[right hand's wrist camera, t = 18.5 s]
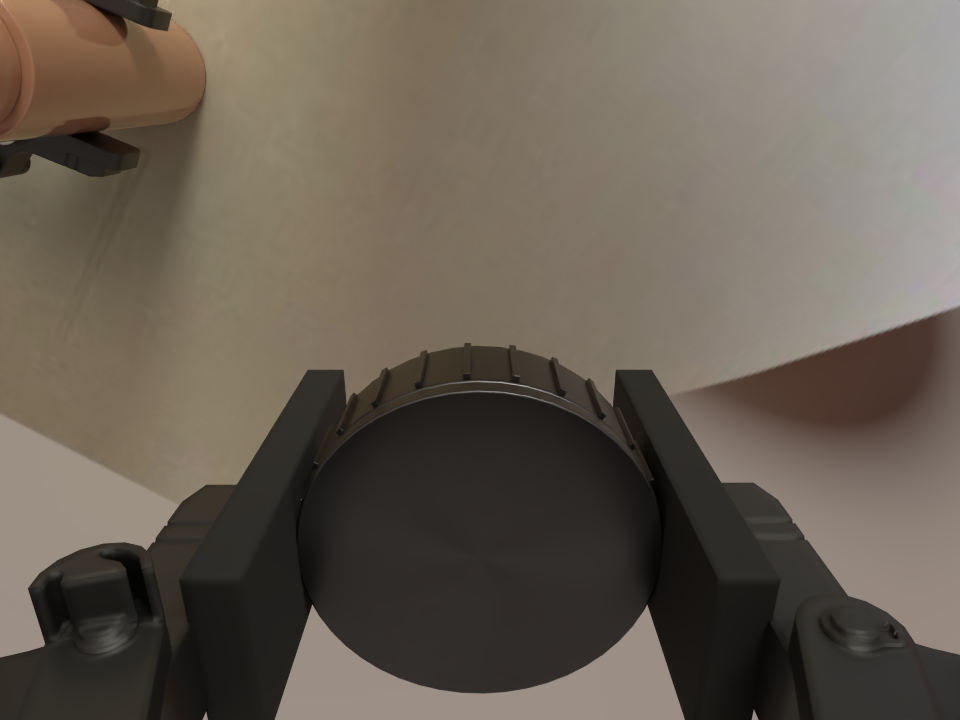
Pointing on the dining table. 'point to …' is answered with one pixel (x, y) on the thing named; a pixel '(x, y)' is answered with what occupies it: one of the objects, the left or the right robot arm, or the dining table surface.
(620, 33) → the dining table surface
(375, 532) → the lid
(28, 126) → the jar
